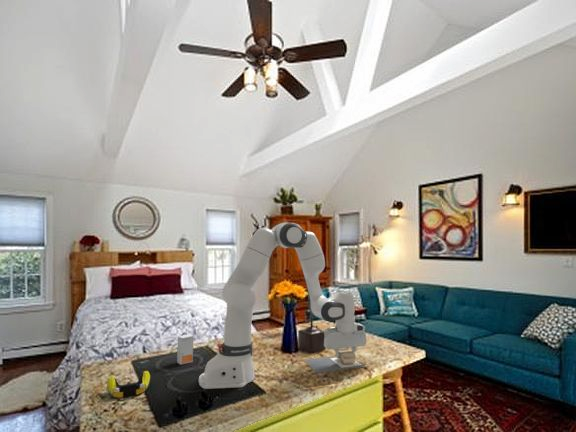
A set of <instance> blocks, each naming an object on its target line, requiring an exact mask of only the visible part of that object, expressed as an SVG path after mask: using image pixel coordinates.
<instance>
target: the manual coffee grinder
mask: <svg viewBox="0 0 576 432" xmlns="http://www.w3.org/2000/svg"><path fill="white" fill-rule="evenodd" d="M311 315H312V314H311V313H310V311H309V309H308V310H304V316H305V320H304V322H307V323H309V322H310V326H308V327H307V328H304V329H300V330H298V331H297V333H298V334H297V335H298V336H297V337H298V341H297V342H298V349H299V350H301V351H302V352H307V353H310V354H312V353H317V352H320V351H325V350H327V349H326V348H325V347H324V338H325V336H324V331H325V330H322V329H321V328H318V325H316V326H314V325H313V322H314V320H313V319H314V316H311Z"/></svg>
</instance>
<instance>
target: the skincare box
mask: <svg viewBox="0 0 576 432" xmlns="http://www.w3.org/2000/svg"><path fill="white" fill-rule="evenodd" d="M176 351H177V352H176V355H177V357H176V358H177V359H176V363H177V364H179V365H181V366H182V365H185V364H190V363H193V362H194V359H193V358H194V335H192V334H191V333H187V334H181V335H177V350H176Z"/></svg>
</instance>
